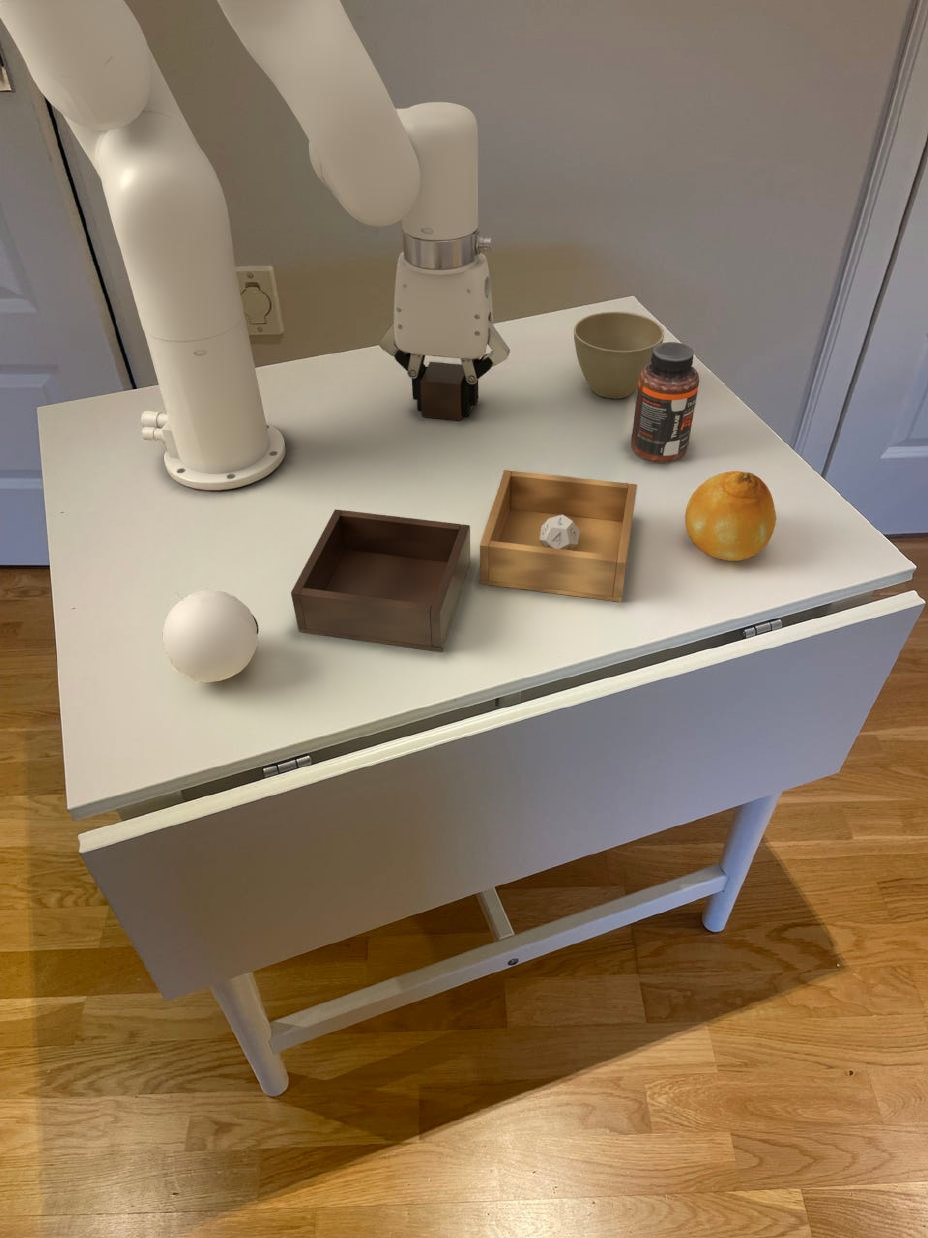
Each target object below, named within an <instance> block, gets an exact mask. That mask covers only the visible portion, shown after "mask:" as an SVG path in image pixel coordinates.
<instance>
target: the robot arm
mask: <svg viewBox="0 0 928 1238" xmlns="http://www.w3.org/2000/svg"><path fill="white" fill-rule="evenodd" d="M216 1H217V3H218V6H219V7H220V9H221V11H222V13H223V14H224V17H225V18H226V21H228V23H229V24H230V26H231V28H232V29H233V31H234V33H235V34H236V35H237V38H238V39H239V40H240V42H241V44H242V45H243V47H244V48H245V50H246V51H247V52H248V54H249V55H250V56H251V57H252V59H253V60H254V61H255V62H256V64H257V65H258V66H259V67H260V68H261V70H262V71H263V72H264V73H265V74H266V76H267V77H268V78H269V80H270V81H271V82H272V84H273V85H274V87H275V88H276V89H277V91H278V92H279V93H280V95H281V96H282V98H283V99H284V101H285V102H286V104H287V106H288V107H289V109H290V111H291V112H292V113H293V116H294V117H295V119H296V120H297V122H298V123H299V125H300V127H301V128H302V130H303V133H304V134H305V136H306V137H307V139H308V140H309V141H308V153H309V160H310V163H311V166H312V168H313V170H314V173H315V174H316V176H317V178H319V180H320V181H321V182H322V184H323V185H324V186H325V187H326V188H327V189H328V190H329V192H330V193H331V194H332V196H334V197H335V199H336V200H337V201H338V202H339V203H340V205H341V207H343V209H344V210H345V211H346V212H347V213H348V214H349V215H350V216H351V217H352V218H353V219H355V220H356V221H358V222H360V223H362V224H365V225H368V226H370V227H371V226H372V227H387V226H391V225H394V224H396V223H398V222H400V221H401V234H402V235H401V236H402V249H403V250H402V252H400V254H399V257H398V258H397V265H396V271H395V272H396V273H395V282H394V296H393V297H394V300H393V322H392V323H391V324H390V326H389V327H388V328H387V330H386V331H385V333H384V334H383V335H382V337H381V339H380V340H379V342H378V346H379V348H380V349H381V350H383V351H384V352H385V353H387V354H388V355H390V356H391V357H393V358H394V359H395V361H396V362H397V363H398V364H399V365H400V366H401V367H402V368H403V369H404V370H405V371H406V374H407V376H408V378H410V379H411V391H412V400H413V401H416V408H417V409H416V410H417V411H418V412H422V405H421V386H420V381H421V379H422V377H423V375H424V373H425V371H426V369H427V367H428V366H427V365H425V359H426V356H431V357H439V358H440V357H442V358H450V359H460V362H461V364H462V366H463V370H464V373H465V379H464V381H463V384H462V414H463V417H470V413H471V411H472V408H473V407H477V405H478V402H479V379H481V378H482V377H483V376H484V375H485V374H487V373H488V372H489V371H490V370H491V369H492V368H493V367H496V366H498V365H499V364H501V363H502V362H504V361H506V360H508V357H509V355H510V354H511V353H510V352H511V349H510V347H509V346H508V344H507V343H506V341H505V340H504V339H503V337H502V336H501V334H500V333H499V332H498V330H497V329H496V328H495V326H494V309H493V308H494V307H493V306H494V305H493V294H492V283H491V275H490V269H489V264H488V259H487V256H486V255H485V254H484V252H492V250H493V245H494V238H493V237H492V236H486V234H483V232H482V231H481V225H479V131H478V129H479V128H478V121H477V118H476V116H475V115H474V113H473V111H472V110H470V109H469V108H468V107H466V106H465V105H461V104H457V103H453V102H447V101H431V102H430V101H429V102H422V103H418V104H415V105H412V106H409V107H407V108H396V107H395V105H394V103H393V101H392V99H391V96H390V94H389V92H388V90H387V87H386V86H385V84H384V82H383V80H382V78H381V76H380V74H379V72H378V70H377V68H376V67H375V64H374V63H373V60H372V59H371V57H370V55H369V53H368V52H367V50H366V48H365V46H364V44H363V42H362V41H361V39H360V37H359V35H358V33H357V31H356V29H355V28H354V26H353V24H352V22H351V20H350V18H349V17H348V14H347V12H346V10H345V8H344V6H343V4H342V1H341V0H216ZM0 20H1V22H2V23H3V25H4V26H5V28H6V30H7V31H8V33H9V35H10V37H11V38H12V41H13V42H14V44H15V45H16V47H17V50H18V51H19V52H20V54H21V56H22V58H23V60H24V63H25V65H26V67H27V70H28V72H29V74H30V77H31V78H32V80H33V82H34V83H35V84H36V86H37V88H38V90H39V91H40V92H41V94H42V95H43V96H44V98H45V99H46V100H47V101H48V102H49V104H50V105H51V106H53V107H54V108H55V110H56V111H58V112H59V113H61V115H62V116H63V118H64V119H65V121H66V123H67V125H68V126H69V127H70V130H71V132H72V134H74V136H75V138H76V139H77V141H78V143H79V144H80V146H81V148H82V149H83V151H84V153H85V154H86V156H87V158H88V159H89V161H90V163H91V164H92V166H93V168H94V169H95V171H96V173H97V175H98V177H99V179H100V181H101V186H102V191H103V195H104V197H105V200H106V204H107V208H108V212H109V216H110V220H111V223H112V225H113V226H112V227H113V231H114V234H115V236H116V240H117V243H118V246H119V249H120V253H121V257H122V260H123V263H124V267H125V270H126V274H127V277H128V280H129V283H130V284H129V285H130V288H131V292H132V295H133V299H134V303H135V306H136V309H137V310H136V311H137V314H138V317H139V320H140V324H141V328H142V330H143V332H144V336H145V339H146V340H145V341H146V344H147V348H148V350H149V354H150V359H151V361H152V365H153V368H154V372H155V376H156V379H157V383H158V387H159V390H160V393H161V394H160V395H161V397H162V401H163V405H164V408H165V411H166V413H164V412H163V411H153V410H144V411H143V412H142V413H141V416H140V417H141V418H140V422H141V426H142V429H141V435H142V436H141V437H142V439H143V440H144V441H154V442H157V441H159V442H163V444H164V445H166V449H165V451H164V456H163V458H164V459H163V460H164V465H165V468H166V471H167V473H168V474H169V476H170V477H171V479H173V480H174V481H176V482H177V483H179V484H181V485H183V486H185V487H187V488H192V489H196V490H203V491H222V490H224V491H225V490H232V489H236V488H241V487H244V486H248V485H250V484H254V483H256V482H258V481H260V480H263V479H264V478H266V477H267V476H268V475H270V474H271V473H273V472H274V471H275V470H276V469H277V468H278V467H279V466H280V464H281V463H282V462H283V460H284V458H285V456H286V450H287V449H286V444H285V443H286V442H285V437H284V435H283V434H282V432H281V431H280V430H279V429H278V428H277V427H276V426H274V425H273V424H271V423H269V422H267V421H266V417H265V412H264V407H263V406H264V405H263V402H262V396H261V391H260V386H259V380H258V375H257V372H256V371H257V370H256V365H255V359H254V355H253V350H252V345H251V340H250V335H249V330H248V324H247V319H246V315H245V310H244V306H243V301H242V295H241V290H240V285H239V280H238V275H237V268H236V262H235V255H234V247H233V237H232V230H231V229H232V228H231V222H230V216H229V210H228V205H227V202H226V201H227V200H226V197H225V194H224V191H223V188H222V185H221V182H220V180H219V178H218V175H217V172H216V171H215V169H214V167H213V165H212V163H211V162H210V160H209V159H208V156H207V155H206V153H205V152H204V151H203V150H202V148H201V147H200V144H199V142H198V141H197V139H196V137H195V136H194V134H193V132H192V130H191V128H190V127H189V124H188V122H187V121H186V119H185V117H184V115H183V113H182V111H181V109H180V107H179V105H178V103H177V101H176V99H175V97H174V95H173V93H172V91H171V89H170V87H169V85H168V83H167V81H166V79H165V77H164V76H163V74H162V71H161V69H160V68H159V66H158V64H157V61H156V59H155V58H154V56H153V53H152V51H151V50H150V47H149V45H148V41H147V39H146V36H145V34H144V31H143V30H142V29H143V28H142V27H141V25H140V23H139V21H138V20H137V18H136V16H135V15H134V13H133V11H132V10H131V8H130V6H129V5H128V4H127V3H126V1H125V0H0ZM487 347H489V348H490V350H491V351H490V352H489V353H487Z"/></svg>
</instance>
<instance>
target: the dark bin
mask: <svg viewBox="0 0 928 1238" xmlns="http://www.w3.org/2000/svg"><path fill="white" fill-rule="evenodd" d="M471 564H472V559H471V525H470V524H464V523H462V524H461V523H455V522H445V521H437V520H430V519H421V518H412V517H405V516H395V515H386V514H378V513H371V512H361V511H354V510H345V509H344V510H342V509H334V511H333V512H332V514H331V516H330V517H329V519H328V522H327V523H326V525H325V527H324V529H323V531H322V533H321V535H320V537H319V538H318V541H317V542H316V544H315V546H314V548H313V550H312V552H311V553H310V555H309V558H308V560H307V561H306V563H305V565H304V567H303V569H302V570H301V573H300V575H299V576H298V578H297V580H296V581H295V584H294V586H293V588H292V590H290V591H291V592H290V594H291V595H290V597H291V600H292V604H293V605H292V606H293V610H294V615H295V619H296V620H295V621H296V626H297V630H298V631H297V632H299V633H307V634H312V635H321V636H328V637H335V638H340V639H341V638H343V639H349V640H355V641H363V642H369V643H376V644H381V645H383V644H384V645H390V646H398V647H403V648H410V649H419V650H425V651H431V652H439V653H442V652H443V649H444V646H445V643H446V640H447V637H448V635H449V631H450V628H451V625H452V622H453V619H454V616H455V612H456V610H457V607H458V604H459V602H460V601H459V600H460V597H461V594H462V591H463V589H464V585H465V583H466V579H467V576H468V574H469V570H470V567H471Z"/></svg>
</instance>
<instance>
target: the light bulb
mask: <svg viewBox="0 0 928 1238" xmlns="http://www.w3.org/2000/svg"><path fill="white" fill-rule="evenodd" d="M175 594H176V595H177V596H179V597H181V600H180V601H178V602H177V603H176V604H175V605H173V606H172V608H171V609H170V611H169V612H168V614H167V616H166V619H165V622H164V625H163V629H162V643H163V644H162V645H163V648H164V651H165V652H164V653H165V655H166V657H167V658H168V659H169V661H170V663H171V664H172V666H173V667H174V668H175V669H176V670H177V671H178V672H179V673H181V674H183V675H185V676H186V677H188V678H190V679H192V680H195V681H198V682H204V683H213V682H220V681H224V680H227V679H230V678H232V677H234V676H235V675H238V674H239V673H241V672H242V671H243V670H244V669H245V668H246V667H247V666H248V665H249V663H250V661H251V660H252V658H253V656H254V654H255V652H256V649H257V647H258V635H259V623H258V621H257V619H256V617H255V616H254V614H253V613H252V612H251V609H250V608H249V607H248V606H247V605H246V604H245V603H244V602H243V601H241V600H240V599H238V597H237V596H235V595H233V594H230V593H228V592H225V591H219V590H212V589H207V590H205V589H204V590H199V591H196V592H192V593H190V594H189V595H186V596H185V597H182V596H181V595H180V594H178V593H177V592H175Z"/></svg>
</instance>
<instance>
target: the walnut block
mask: <svg viewBox="0 0 928 1238" xmlns="http://www.w3.org/2000/svg"><path fill="white" fill-rule="evenodd" d="M426 367H427V369H426V371H425V373H424V375H423V377H422V379H421V381H420V386H421V405H422V411H421V416H422V418H430V419H439V420H440V419H441V420H448V421H449V420H450V421H458V422H459V421H462V419H463V417H464V414H462V384H463V381H464V379H465V373H464V370H463V366H462V363H449V362H440V361H439V362H438V361H429V362H428V365H427V366H426Z"/></svg>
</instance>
